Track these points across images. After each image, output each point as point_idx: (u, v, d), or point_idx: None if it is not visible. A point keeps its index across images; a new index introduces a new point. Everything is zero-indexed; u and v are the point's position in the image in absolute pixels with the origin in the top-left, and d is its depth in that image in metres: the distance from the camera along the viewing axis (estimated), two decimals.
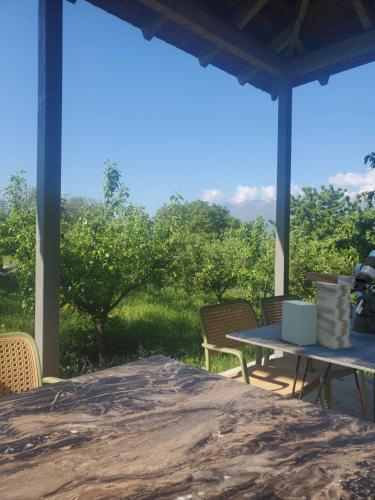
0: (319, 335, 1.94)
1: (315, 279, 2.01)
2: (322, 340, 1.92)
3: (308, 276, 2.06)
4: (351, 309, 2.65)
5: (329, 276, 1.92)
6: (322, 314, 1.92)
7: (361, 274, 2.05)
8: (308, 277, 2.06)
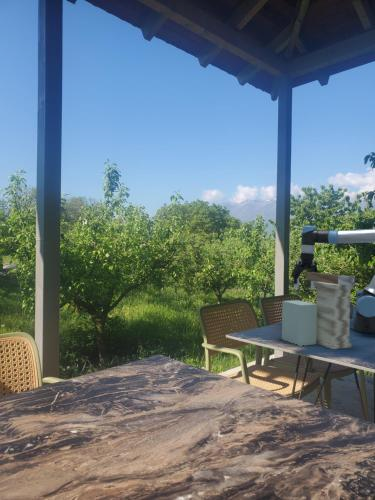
0: (319, 335, 1.94)
1: (315, 279, 2.01)
2: (322, 340, 1.92)
3: (308, 276, 2.06)
4: (351, 309, 2.64)
5: (329, 276, 1.92)
6: (322, 314, 1.92)
7: None
8: (308, 277, 2.06)
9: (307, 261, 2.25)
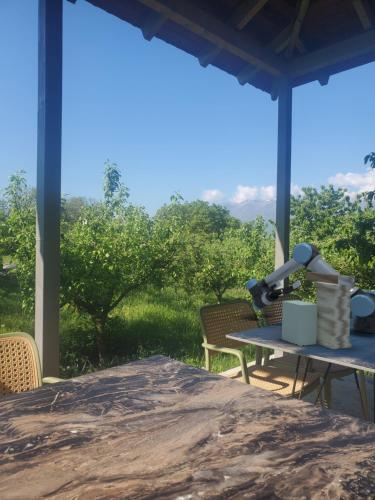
0: (319, 335, 1.94)
1: (315, 279, 2.01)
2: (322, 340, 1.92)
3: (308, 276, 2.06)
4: None
5: (329, 276, 1.92)
6: (322, 314, 1.92)
7: (272, 301, 2.37)
8: (308, 277, 2.06)
9: None
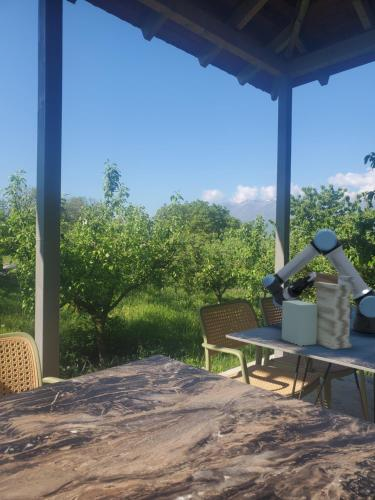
0: (319, 335, 1.94)
1: (315, 279, 2.01)
2: (322, 340, 1.92)
3: None
4: (350, 309, 2.64)
5: (329, 276, 1.92)
6: (322, 314, 1.92)
7: (295, 297, 2.17)
8: None
9: None
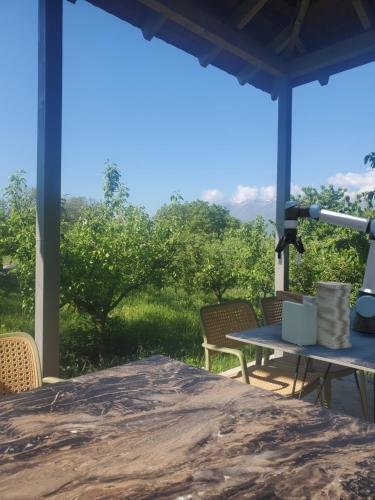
0: (319, 335, 1.94)
1: (283, 298, 2.05)
2: (322, 340, 1.92)
3: (277, 294, 2.10)
4: None
5: (295, 296, 1.97)
6: (322, 314, 1.92)
7: None
8: (277, 295, 2.10)
9: (291, 236, 2.29)
